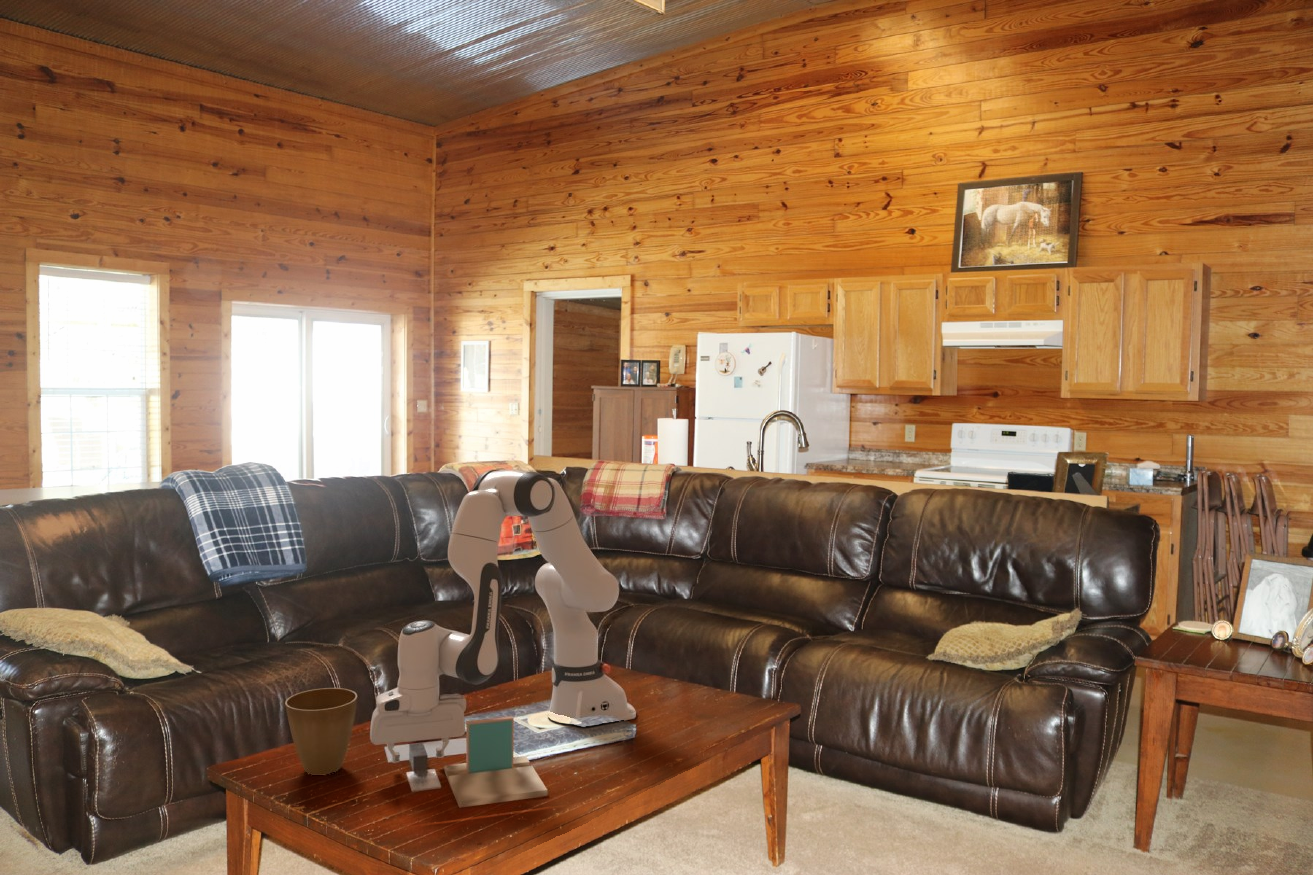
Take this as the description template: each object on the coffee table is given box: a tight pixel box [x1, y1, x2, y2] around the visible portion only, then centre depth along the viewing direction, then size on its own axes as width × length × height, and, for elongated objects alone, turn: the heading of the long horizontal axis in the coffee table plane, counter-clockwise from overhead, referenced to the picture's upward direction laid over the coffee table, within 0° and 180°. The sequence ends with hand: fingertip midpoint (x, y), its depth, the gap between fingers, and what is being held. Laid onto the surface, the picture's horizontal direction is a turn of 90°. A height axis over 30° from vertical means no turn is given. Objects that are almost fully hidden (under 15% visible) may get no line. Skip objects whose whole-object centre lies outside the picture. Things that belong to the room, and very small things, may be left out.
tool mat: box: [384, 737, 466, 765], centre depth 234 cm, size 22×10×1 cm, turn 110°
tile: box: [465, 716, 515, 774], centre depth 219 cm, size 10×1×12 cm, turn 110°
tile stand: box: [444, 755, 548, 808], centre depth 214 cm, size 18×20×2 cm
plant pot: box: [284, 687, 358, 775], centre depth 221 cm, size 15×15×16 cm
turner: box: [405, 742, 442, 793], centre depth 219 cm, size 18×6×4 cm, turn 20°
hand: (418, 759), depth 222 cm, fingers open, 8 cm apart
